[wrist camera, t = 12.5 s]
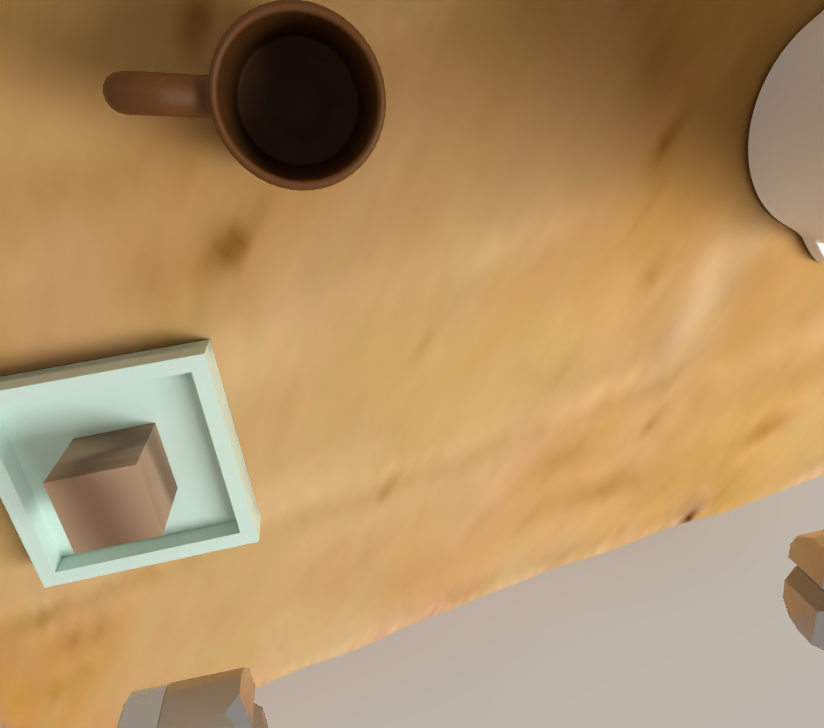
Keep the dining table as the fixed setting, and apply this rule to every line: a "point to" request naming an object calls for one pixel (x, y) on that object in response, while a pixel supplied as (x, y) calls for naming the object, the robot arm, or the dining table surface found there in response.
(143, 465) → the block
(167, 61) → the dining table surface
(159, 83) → the mug
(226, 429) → the tray
